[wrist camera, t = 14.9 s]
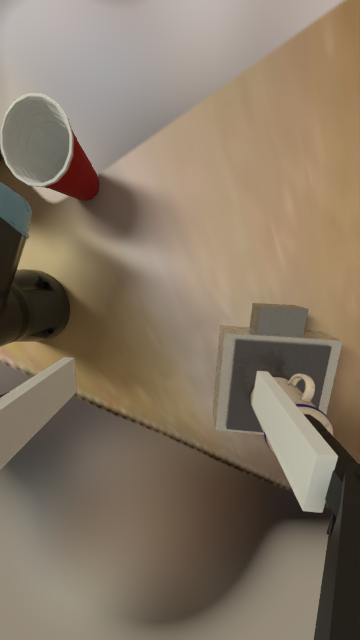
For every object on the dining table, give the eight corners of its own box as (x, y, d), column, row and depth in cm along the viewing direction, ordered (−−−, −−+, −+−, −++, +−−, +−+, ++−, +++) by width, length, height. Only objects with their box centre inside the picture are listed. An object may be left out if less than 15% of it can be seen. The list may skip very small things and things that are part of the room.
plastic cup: (63, 142, 36) (-1, 75, 24) (118, 162, 36) (80, 105, 24) (51, 203, 38) (-12, 169, 27) (103, 222, 38) (62, 197, 27)
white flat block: (212, 410, 45) (215, 432, 38) (222, 301, 40) (227, 305, 33) (303, 418, 43) (322, 442, 37) (325, 307, 38) (352, 312, 32)
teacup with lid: (287, 425, 37) (328, 491, 25) (241, 410, 37) (261, 468, 25) (316, 370, 34) (376, 415, 23) (266, 353, 34) (301, 390, 23)
